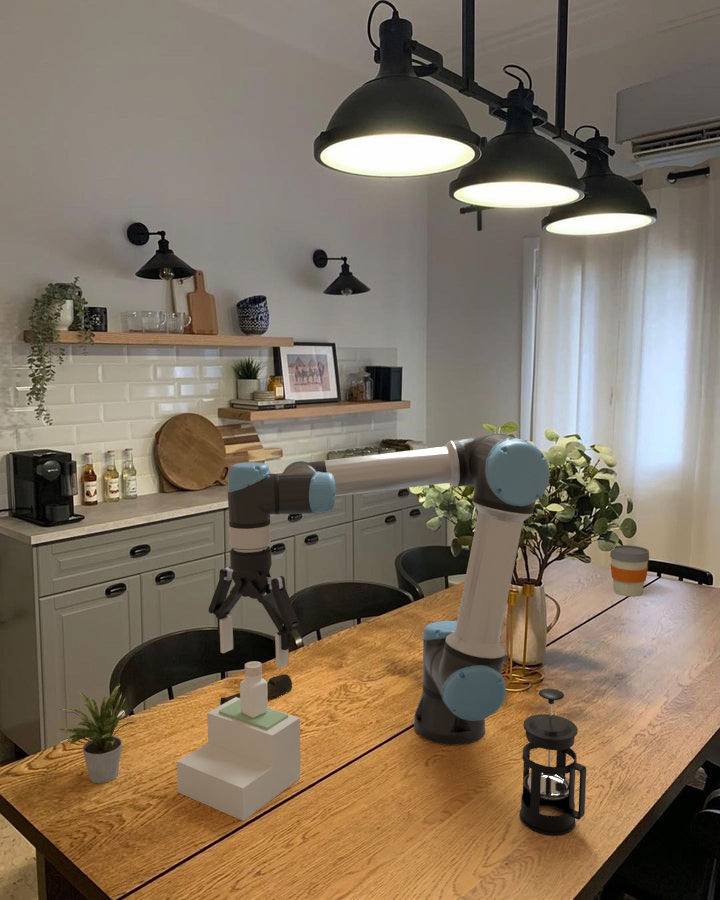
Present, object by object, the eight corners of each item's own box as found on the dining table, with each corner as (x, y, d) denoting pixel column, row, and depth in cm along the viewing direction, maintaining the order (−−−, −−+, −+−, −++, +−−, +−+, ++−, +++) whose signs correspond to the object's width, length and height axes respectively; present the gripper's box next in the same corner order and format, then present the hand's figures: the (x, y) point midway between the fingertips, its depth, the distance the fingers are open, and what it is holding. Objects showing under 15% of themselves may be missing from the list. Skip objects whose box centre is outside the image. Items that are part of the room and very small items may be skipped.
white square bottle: (255, 705, 144) (255, 658, 143) (269, 712, 142) (268, 664, 140) (239, 712, 141) (238, 664, 140) (252, 719, 139) (251, 670, 138)
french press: (505, 818, 130) (509, 691, 127) (533, 795, 136) (537, 674, 134) (568, 848, 122) (573, 713, 119) (594, 822, 128) (599, 694, 126)
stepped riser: (300, 777, 142) (299, 715, 140) (243, 821, 129) (242, 752, 127) (237, 753, 151) (235, 694, 149) (177, 792, 137) (175, 727, 136)
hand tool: (228, 718, 166) (228, 698, 165) (219, 712, 169) (218, 692, 168) (298, 694, 178) (298, 676, 177) (288, 689, 181) (288, 670, 180)
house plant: (82, 752, 151) (79, 674, 149) (150, 753, 151) (147, 675, 149) (51, 792, 137) (47, 707, 135) (126, 794, 137) (123, 708, 135)
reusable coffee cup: (611, 597, 251) (613, 553, 249) (605, 586, 263) (607, 544, 261) (651, 599, 249) (653, 555, 247) (643, 587, 261) (645, 545, 259)
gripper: (317, 551, 134) (319, 664, 137) (215, 535, 148) (218, 638, 150) (291, 561, 128) (294, 679, 130) (187, 543, 141) (191, 651, 144)
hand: (254, 658), depth 140 cm, fingers open, 13 cm apart
